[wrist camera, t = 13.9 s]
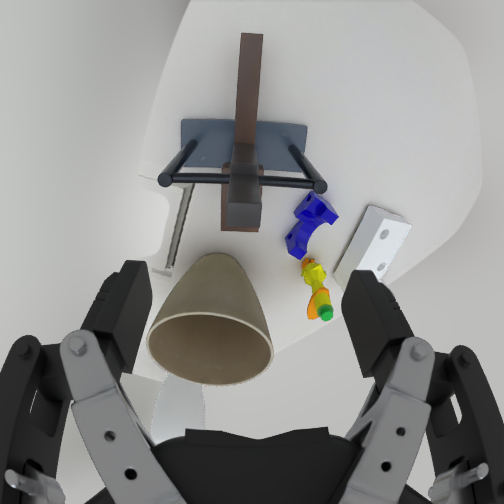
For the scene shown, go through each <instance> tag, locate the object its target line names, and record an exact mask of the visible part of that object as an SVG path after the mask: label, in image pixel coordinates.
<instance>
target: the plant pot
mask: <svg viewBox="0 0 504 504" xmlns="http://www.w3.org/2000/svg"><path fill="white" fill-rule="evenodd" d="M146 347H147V350H148V353H149V354H150V356H151V358H152V359H153V360H154V362H155V363H156V364H157V365H158V366H160V367H161V368H162V369H163V370H165V371H166V372H168V373H170V374H171V375H173V376H175V377H177V378H180V379H183V380H185V381H188V382H192V383H196V384H201V385H208V386H229V385H236V384H240V383H244V382H247V381H250V380H252V379H254V378H256V377H258V376H259V375H261V374H262V373H263V372H265V371H266V370H267V369H268V367H269V366H270V364H271V363H272V360H273V357H274V350H273V346H272V342H271V338H270V334H269V330H268V327H267V323H266V320H265V317H264V314H263V311H262V308H261V305H260V303H259V300H258V298H257V295H256V293H255V291H254V289H253V286H252V284H251V283H250V281H249V279H248V277H247V275H246V274H245V272H244V270H243V269H242V267H241V266H240V264H239V263H238V262H237V261H236V260H235V259H234V258H232V257H231V256H228V255H226V254H222V253H212V254H208V255H206V256H204V257H202V258H201V259H200V260H198V261H197V262H196V263H195V264H194V265H193V266H192V267H191V268H190V269H189V270H188V271H187V272H186V273H185V275H184V276H183V277H182V278H181V279H180V281H179V282H178V283H177V284H176V286H175V287H174V288H173V290H172V291H171V293H170V294H169V296H168V297H167V299H166V300H165V302H164V304H163V305H162V307H161V309H160V311H159V312H158V314H157V316H156V318H155V320H154V322H153V324H152V326H151V328H150V330H149V332H148V334H147V338H146Z"/></svg>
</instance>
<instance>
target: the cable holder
mask: <svg viewBox="0 0 504 504" xmlns="http://www.w3.org/2000/svg"><path fill="white" fill-rule="evenodd" d="M294 214H295V217H296V218H298V219H300V221H299V222H298V223H297V224H296V225H295V227H294V228H293V229H292V230H291V231H290V232H289V234H288V235H287V236H286V237H285V240H286V245H287V249H288V253H289V254H290V255H292V256H294V257H296V258H297V259H299V260H301V259H302V257H303V256H304V255H305V254H306V253H307V243H308V240H309V238H310V236H311V234H312V233H313V232H314V230H315V229H316V228H317V227H318V226H319V225H321V224H323V223H329V224H330V225H332V224H333V223H334V222H335V221H336V219H337V218H338V217H339V216H338V215H337V213H336V211H335V210H334V208H333V207H332V205H331V204H330V203H329V202H327V201H326V200H325V199H323V198H322V197H321V196H319V195H318V194H316V193H315V192H314V191H312V190H311V192H310V193H309V194H308V195H307V197H306V198H305V199H304V200H303V201H302V203H301V204H300V205H299V206H298V208H297V209H296V210H295V211H294Z"/></svg>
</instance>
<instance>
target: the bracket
mask: <svg viewBox="0 0 504 504" xmlns="http://www.w3.org/2000/svg"><path fill="white" fill-rule="evenodd" d="M411 227H412V225H411V224H410V223H409V222H408V221H407V220H406V219H405V218H403V217H402V216H399V215H395V214H392V213H388V212H387V211H386V210H385V209H381V208H377V207H373V206H369V207H368V209H367V211H366V213H365V215H364V217H363V219H362V221H361V223H360V225H359V227H358V229H357V231H356V233H355V235H354V237H353V239H352V241H351V243H350V245H349V247H348V249H347V251H346V252H345V254H344V256H343V258H342V260H341V262H340V264H339V265H338V267H337V269H336V271H335V273H334V275H333V277H334V279H335V280H336V282H337V283H338V285H339V286H340V287H341V289H342V290H343V292H345V289H346V286H347V283H348V281H349V278H350V275H351V272H352V271H353V270H372V271H373V272H374V274H375V276H376V278H377V280H378V282H382V283H383V284H384V285H385V286H386V287H387V288H388V286H387V285H386V284H385V283H384V281H383V280H382V279H381V278H382V276H383V275H384V273H385V272H386V270H387V268H388V267H389V265H390V263H391V262H392V260H393V258H394V257H395V255H396V253H397V252H398V250H399V248H400V247H401V245H402V243H403V241H404V240H405V238H406V236H407V234H408V232H409V231H410V229H411ZM388 289H389V288H388ZM391 292H392V291H391ZM392 294H393V293H392ZM393 296H394V294H393Z"/></svg>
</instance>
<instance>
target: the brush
mask: <svg viewBox="0 0 504 504" xmlns="http://www.w3.org/2000/svg"><path fill="white" fill-rule="evenodd" d="M262 44H263V34H253V33H241V42H240V55H239V69H238V83H237V99H236V116H235V134H234V146H233V153H232V159H231V162H226V163H223V167H222V174H230V180H229V184H222V191H221V231H240V232H258V230H259V228H260V221H261V210H262V201H261V197H262V186H260V185H259V181H258V175H263V174H264V169H263V165H260V163H258V159H257V154H256V149H255V134H256V121H257V108H258V95H259V82H260V69H261V56H262Z"/></svg>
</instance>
